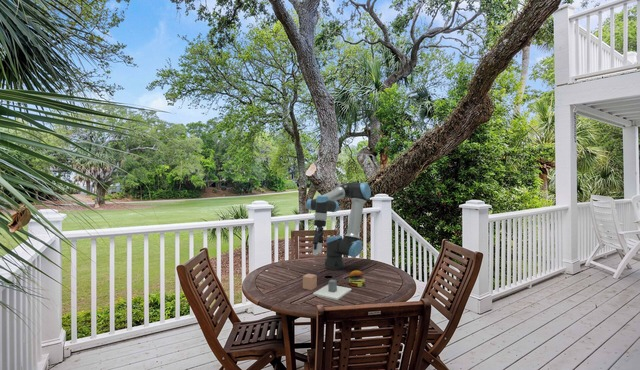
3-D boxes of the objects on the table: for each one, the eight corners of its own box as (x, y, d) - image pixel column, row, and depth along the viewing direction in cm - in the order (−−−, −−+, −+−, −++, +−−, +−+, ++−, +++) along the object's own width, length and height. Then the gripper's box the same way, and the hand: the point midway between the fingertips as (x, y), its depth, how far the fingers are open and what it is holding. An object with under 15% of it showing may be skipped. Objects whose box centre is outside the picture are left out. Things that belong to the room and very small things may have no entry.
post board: (328, 285, 213) (328, 274, 212) (351, 290, 205) (351, 278, 204) (312, 294, 197) (312, 283, 197) (337, 300, 189) (337, 287, 189)
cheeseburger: (352, 288, 208) (350, 271, 209) (346, 286, 218) (345, 270, 220) (367, 286, 210) (366, 269, 212) (361, 285, 220) (359, 269, 222)
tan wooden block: (308, 285, 213) (308, 273, 213) (316, 287, 210) (316, 275, 210) (302, 288, 208) (302, 276, 208) (311, 290, 205) (311, 277, 205)
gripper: (318, 219, 227) (315, 251, 225) (310, 218, 203) (306, 255, 200) (329, 220, 226) (326, 253, 223) (322, 220, 201) (319, 256, 199)
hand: (316, 254), depth 212 cm, fingers open, 13 cm apart
